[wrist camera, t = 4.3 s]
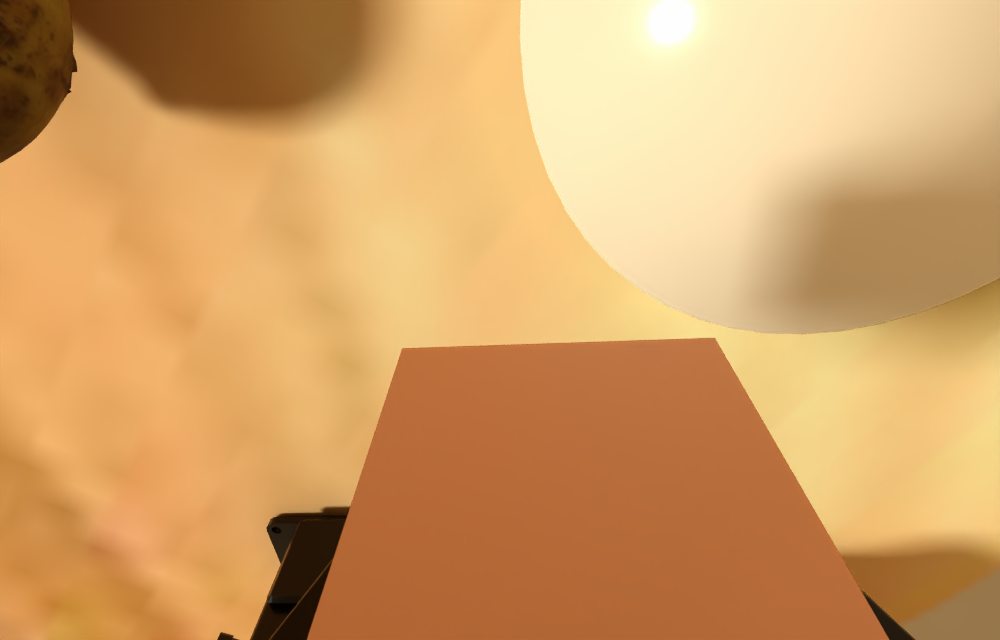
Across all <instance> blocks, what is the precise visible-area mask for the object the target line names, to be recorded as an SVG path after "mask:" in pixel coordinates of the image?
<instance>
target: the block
mask: <svg viewBox="0 0 1000 640" xmlns="http://www.w3.org/2000/svg"><path fill="white" fill-rule="evenodd" d="M307 640H889V638H888V637H887V635H886V633H885V631H884V630H883V628H882V626H881V624H880V623H879V621H878V619H877V617H876V616H875V614H874V612H873V611H872V609H871V607H870V605H869V604H868V602H867V600H866V598H865V597H864V595H863V593H862V592H861V590H860V588H859V586H858V585H857V583H856V581H855V579H854V578H853V576H852V574H851V573H850V571H849V569H848V567H847V566H846V564H845V562H844V560H843V559H842V557H841V555H840V554H839V552H838V550H837V548H836V547H835V545H834V543H833V541H832V540H831V538H830V536H829V535H828V533H827V531H826V529H825V528H824V526H823V524H822V522H821V521H820V519H819V517H818V516H817V514H816V512H815V510H814V509H813V507H812V505H811V503H810V502H809V500H808V498H807V497H806V495H805V493H804V491H803V490H802V488H801V486H800V484H799V483H798V481H797V479H796V477H795V476H794V474H793V472H792V471H791V469H790V467H789V465H788V464H787V462H786V460H785V458H784V457H783V455H782V453H781V452H780V450H779V448H778V446H777V445H776V443H775V441H774V439H773V438H772V436H771V434H770V433H769V431H768V429H767V427H766V426H765V424H764V422H763V420H762V419H761V417H760V415H759V414H758V412H757V410H756V408H755V407H754V405H753V403H752V401H751V400H750V398H749V396H748V395H747V393H746V391H745V389H744V388H743V386H742V384H741V382H740V381H739V379H738V377H737V376H736V374H735V372H734V370H733V369H732V367H731V365H730V363H729V362H728V360H727V358H726V357H725V355H724V353H723V351H722V350H721V348H720V346H719V344H718V343H717V341H716V339H715V338H696V339H666V340H637V341H607V342H577V343H548V344H518V345H489V346H459V347H429V348H402V351H401V354H400V357H399V360H398V363H397V366H396V369H395V372H394V375H393V378H392V381H391V385H390V388H389V391H388V394H387V397H386V400H385V403H384V406H383V409H382V412H381V415H380V418H379V421H378V424H377V427H376V430H375V433H374V436H373V439H372V442H371V446H370V449H369V452H368V455H367V458H366V461H365V464H364V467H363V470H362V473H361V476H360V479H359V482H358V485H357V488H356V491H355V494H354V497H353V500H352V503H351V507H350V510H349V513H348V516H347V519H346V522H345V525H344V528H343V531H342V534H341V537H340V540H339V543H338V546H337V549H336V552H335V555H334V558H333V561H332V564H331V567H330V571H329V574H328V577H327V580H326V583H325V586H324V589H323V592H322V595H321V598H320V601H319V604H318V607H317V610H316V613H315V616H314V619H313V622H312V625H311V628H310V632H309V635H308V638H307Z"/></svg>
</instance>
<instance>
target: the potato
mask: <svg viewBox="0 0 1000 640" xmlns="http://www.w3.org/2000/svg"><path fill="white" fill-rule="evenodd" d="M72 72H77V64H76V60H75V58H74V55H73V29H72V19H71V12H70V7H69V2H68V0H0V163H1V162H3V161H5V160H6V159H8V158H10V157H11V156H13V155H14V154H16V153H18V152H19V151H21V150H22V149H23V148H24V147H26V146H27V145H28V144H29V143H31V142H32V141H33V140H34V139H35V138H36V137H37V136H38V135H39V134H40V133H41V132H42V130H43V129H44V128H45V127H46V126H47V124H48V123H49V122H50V120H51V119H52V117H53V116H54V114H55V113H56V111H57V110H58V108H59V106H60V104H61V103H62V101H63V100H64V98H65V97H66V95H67V94H68V93H70V92H71V91H70V90H69V89H70V88H71V78H72Z"/></svg>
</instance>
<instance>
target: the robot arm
mask: <svg viewBox="0 0 1000 640" xmlns="http://www.w3.org/2000/svg"><path fill="white" fill-rule="evenodd" d="M346 519H347V516H313V517H274V518H272V519H271V520H270V522H269V524H268V526H267V532H268V534H269V537H270V539H271V542H272V544H273V546H274V549H275V551H276V553H277V556H278V558H279V561H280V563H281V565H280V567H279V570H278V572H277V575H276V577H275V579H274V582H273V584H272V587H271V589H270V591H269V594H268V596H267V600H266V603H265V605H264V608H263V610H262V612H261V615H260V617H259V620H258V622H257V624H256V627H255V629H254V632H253V634H252V636H251V639H250V640H307V638H308V635H309V632H310V628H311V625H312V622H313V619H314V616H315V613H316V610H317V607H318V604H319V601H320V598H321V595H322V592H323V589H324V586H325V583H326V580H327V577H328V574H329V571H330V567H331V564H332V561H333V558H334V555H335V552H336V549H337V546H338V543H339V540H340V537H341V534H342V531H343V528H344V525H345V522H346ZM860 590H861V589H860ZM861 592H862V593H863V595H864V597H865V598H866V600H867V602H868V604H869V605H870V607H871V609H872V611H873V612H874V614H875V616H876V617H877V619H878V621H879V623H880V624H881V626H882V628H883V630H884V631H885V633H886V635H887V637H888V638H889V640H915V639H914V638H913V637H912V636H911V635H910V634H909V633H908V632H907V631H905V630H904V629H903V628H902V627H901V626H900V625H899V624H898V623H897V622H896V621H895V620H894V619H892V618H891V617H890V616H889V615H888V614H887V613H886V612H885V611H884V610H883V609H882V608H881V607H880V606H878V605H877V604H876V603H875V602H874V601H873V600H872V599H871V598H870V597H869V596H868V595H867V594H866V593H864V592H863V591H862V590H861ZM217 640H238V639H234V638H233V635H230V634H226V633H223V632H221V633H220V635H219V637H218V639H217Z"/></svg>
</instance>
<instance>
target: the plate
mask: <svg viewBox="0 0 1000 640" xmlns="http://www.w3.org/2000/svg"><path fill="white" fill-rule="evenodd" d="M519 35H520V47H521V59H522V72H523V83H524V89H525V94H526V99H527V104H528V109H529V114H530V118H531V123H532V128H533V133H534V136H535V139H536V142H537V145H538V148H539V151H540V154H541V157H542V159H543V162H544V165H545V168H546V171H547V174H548V176H549V178H550V180H551V182H552V184H553V186H554V188H555V190H556V192H557V194H558V196H559V198H560V200H561V202H562V204H563V206H564V208H565V210H566V212H567V213H568V214H569V216H570V217H571V219H572V220H573V222H574V223H575V225H576V226H577V227H578V229H579V230H580V232H581V233H582V235H583V236H584V238H585V239H586V240H587V242H588V243H589V244H590V245H591V246H592V247H593V248H594V249H595V250H596V251H597V252H598V254H599V255H600V256H601V257H602V258H603V259H604V260H605V261H606V262H607V263H608V264H609V265H610V266H611V267H612V268H613V269H614V270H615V271H617V272H618V273H619V274H620V275H621V276H623V277H624V278H625V279H626V280H628V281H629V282H630V283H631V284H633V285H634V286H635V287H636V288H638V289H639V290H641V291H642V292H644V293H646V294H648V295H649V296H651V297H653V298H654V299H656V300H658V301H659V302H661V303H663V304H664V305H666V306H668V307H670V308H673V309H675V310H677V311H680V312H682V313H685V314H687V315H689V316H692V317H694V318H697V319H699V320H703V321H706V322H710V323H714V324H717V325H721V326H725V327H729V328H733V329H740V330H747V331H754V332H761V333H773V334H812V333H825V332H837V331H844V330H850V329H855V328H861V327H866V326H872V325H877V324H881V323H885V322H888V321H892V320H895V319H899V318H903V317H906V316H910V315H913V314H917V313H920V312H923V311H925V310H928V309H930V308H933V307H936V306H938V305H941V304H944V303H946V302H949V301H952V300H954V299H957V298H960V297H962V296H964V295H966V294H968V293H970V292H972V291H974V290H976V289H979V288H981V287H983V286H985V285H987V284H989V283H991V282H993V281H995V280H997V279H1000V0H521V3H520V32H519Z"/></svg>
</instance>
